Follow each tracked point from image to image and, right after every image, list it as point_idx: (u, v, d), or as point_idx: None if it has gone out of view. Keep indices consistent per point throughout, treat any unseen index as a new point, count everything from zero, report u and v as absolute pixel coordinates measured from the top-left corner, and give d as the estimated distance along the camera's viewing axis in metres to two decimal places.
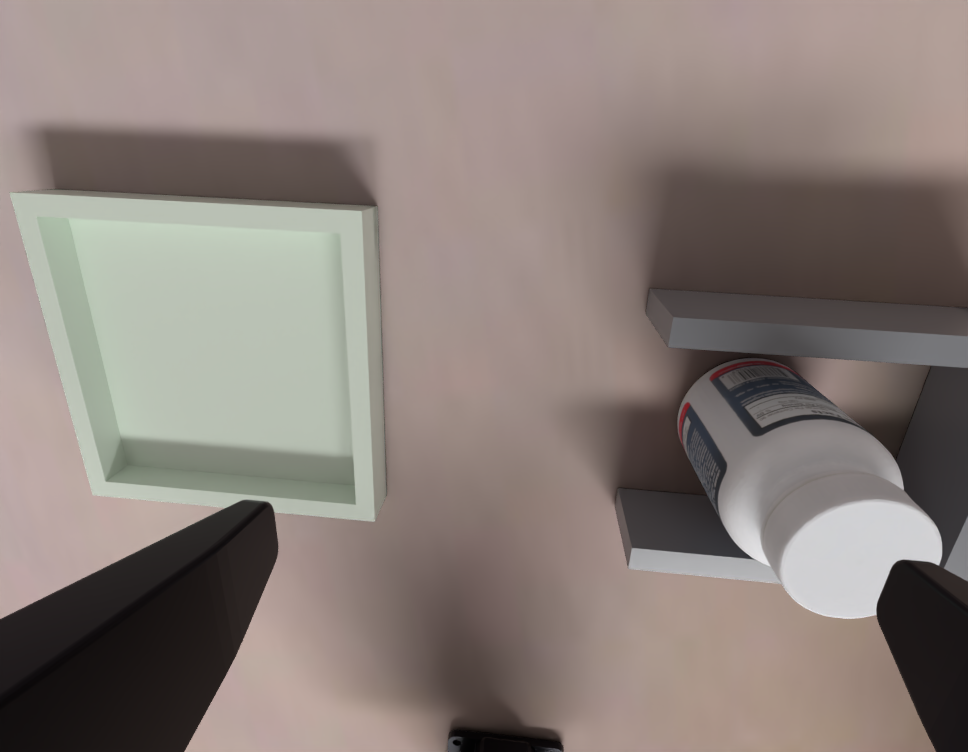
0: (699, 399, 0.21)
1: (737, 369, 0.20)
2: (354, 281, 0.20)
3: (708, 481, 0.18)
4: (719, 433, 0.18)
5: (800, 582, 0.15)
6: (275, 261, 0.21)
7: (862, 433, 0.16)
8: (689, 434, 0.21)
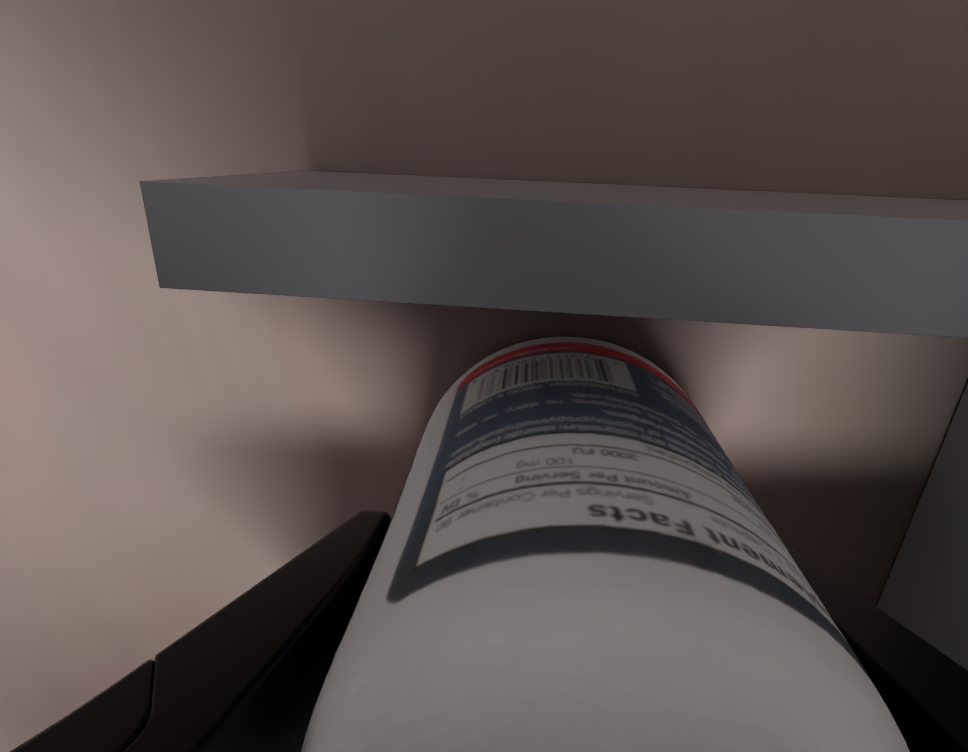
0: (426, 435, 0.09)
1: (509, 362, 0.08)
2: None
3: None
4: (382, 547, 0.06)
5: None
6: None
7: (754, 625, 0.04)
8: None
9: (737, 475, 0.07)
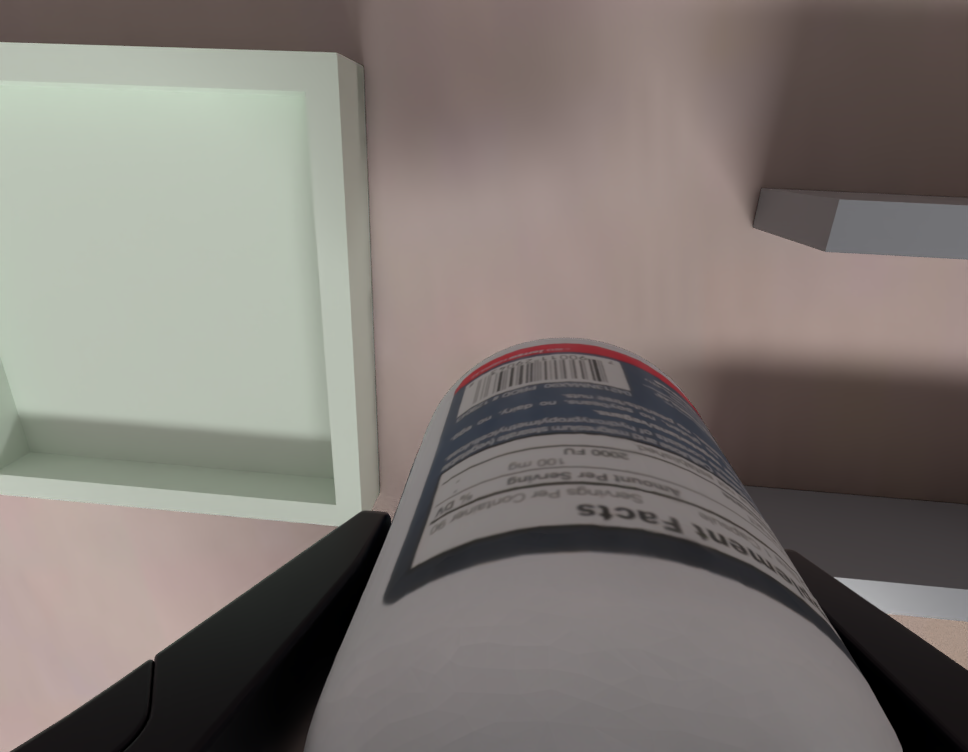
0: (425, 438, 0.09)
1: (505, 365, 0.08)
2: (328, 169, 0.13)
3: None
4: (382, 550, 0.06)
5: None
6: (216, 152, 0.15)
7: (738, 618, 0.04)
8: None
9: (731, 471, 0.07)
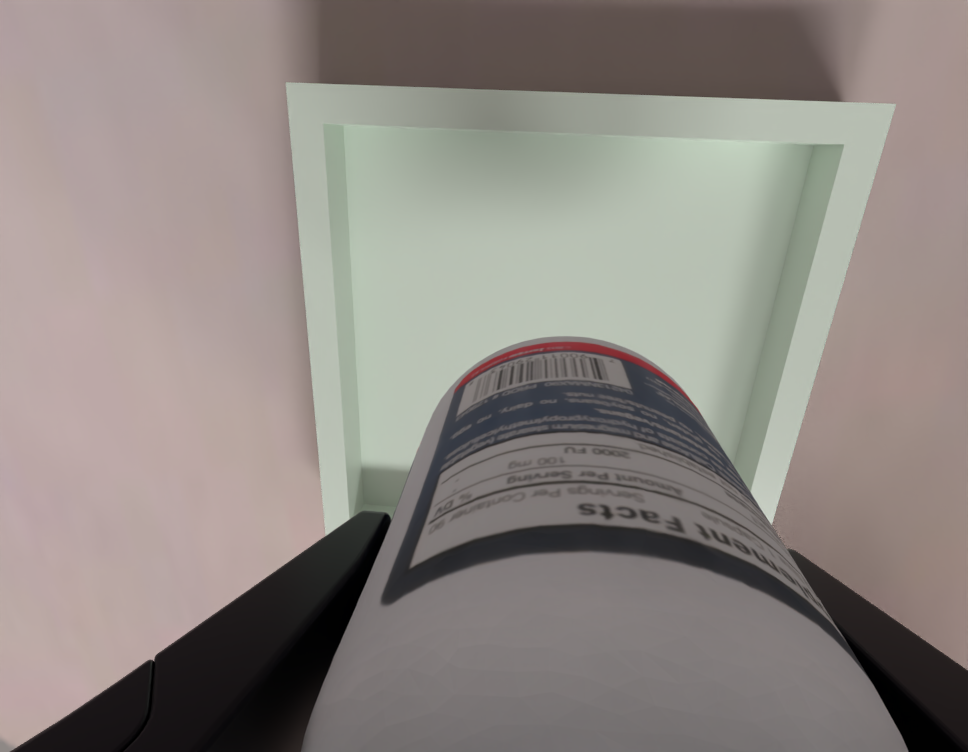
0: (424, 437, 0.09)
1: (505, 363, 0.08)
2: (842, 226, 0.12)
3: None
4: (380, 550, 0.06)
5: None
6: (667, 201, 0.14)
7: (742, 620, 0.04)
8: None
9: (734, 470, 0.07)
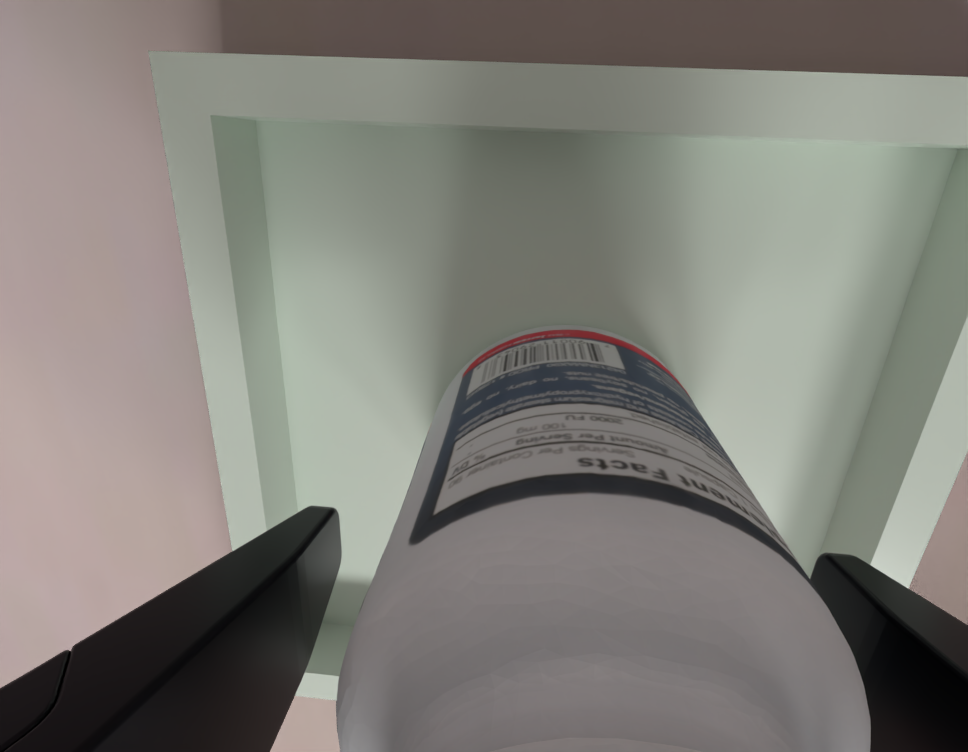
0: (435, 418, 0.09)
1: (509, 349, 0.09)
2: None
3: None
4: (401, 511, 0.07)
5: None
6: (731, 231, 0.09)
7: (714, 544, 0.04)
8: None
9: (716, 441, 0.07)
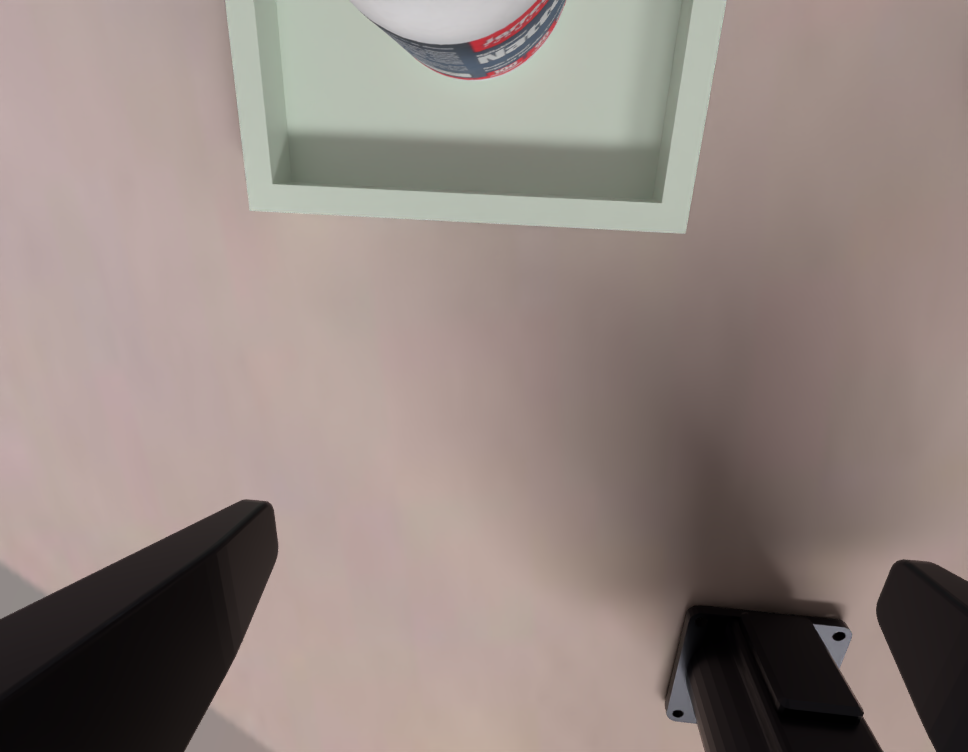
0: None
1: None
2: None
3: None
4: None
5: None
6: None
7: None
8: None
9: None
